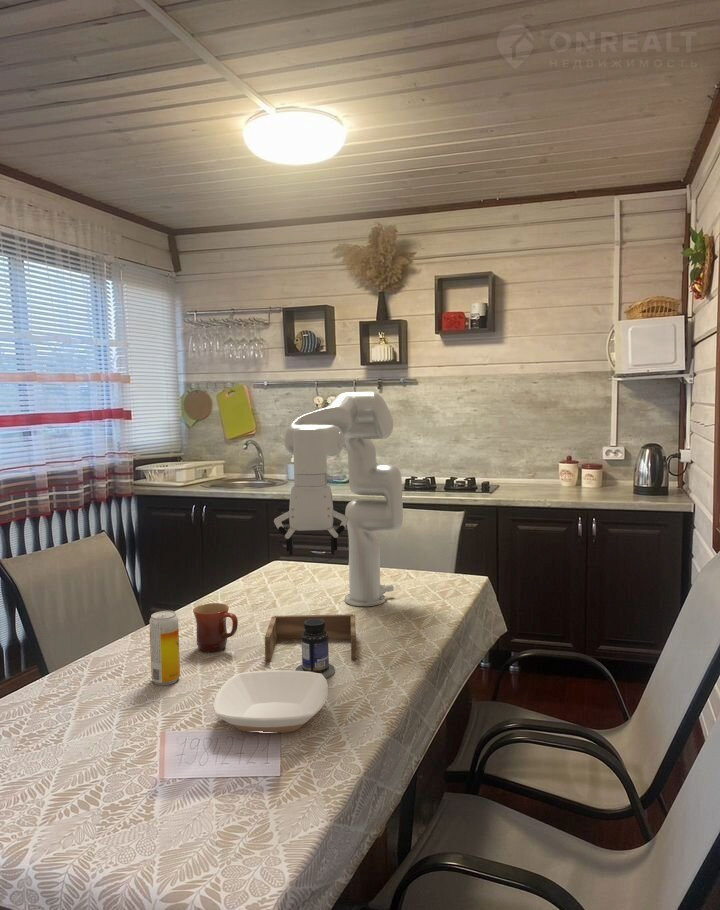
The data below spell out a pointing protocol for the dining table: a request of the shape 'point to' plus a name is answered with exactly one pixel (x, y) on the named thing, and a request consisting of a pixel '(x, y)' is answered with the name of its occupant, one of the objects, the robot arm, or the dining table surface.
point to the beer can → (164, 647)
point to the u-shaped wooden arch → (295, 627)
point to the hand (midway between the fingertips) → (312, 553)
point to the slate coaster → (326, 674)
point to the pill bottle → (315, 646)
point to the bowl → (271, 700)
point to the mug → (213, 626)
